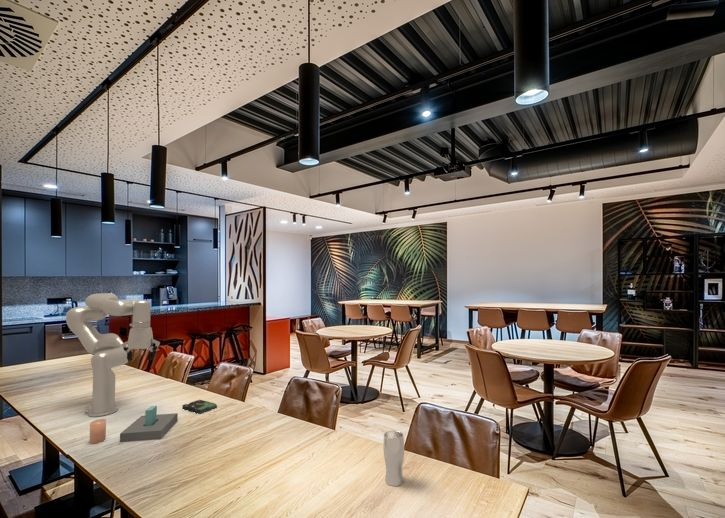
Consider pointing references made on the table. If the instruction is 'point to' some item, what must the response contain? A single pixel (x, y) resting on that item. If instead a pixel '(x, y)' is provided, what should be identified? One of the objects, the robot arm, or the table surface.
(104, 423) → the round terracotta peg
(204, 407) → the disk drive
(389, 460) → the beer glass
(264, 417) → the table surface
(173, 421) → the socket plate
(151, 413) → the teal bar
